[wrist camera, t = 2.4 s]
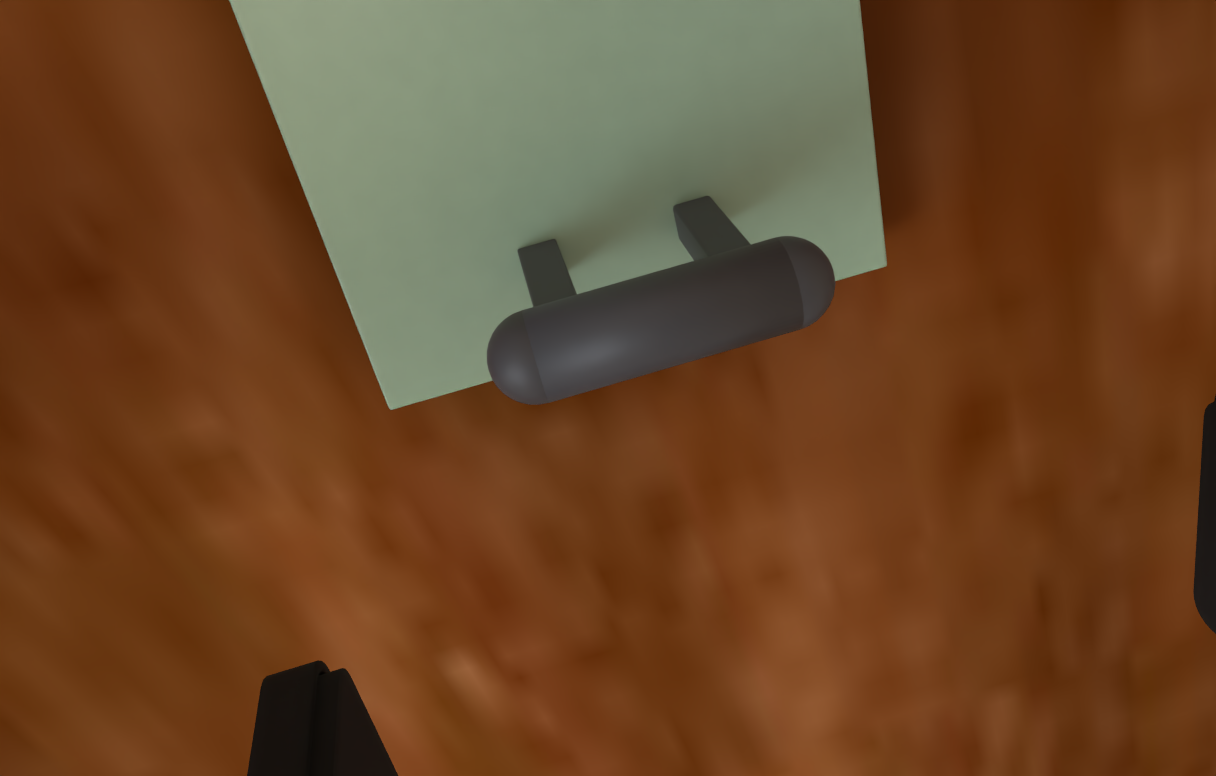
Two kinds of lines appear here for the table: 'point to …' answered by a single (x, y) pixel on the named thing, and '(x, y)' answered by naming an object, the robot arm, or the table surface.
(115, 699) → the table surface
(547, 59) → the sign
